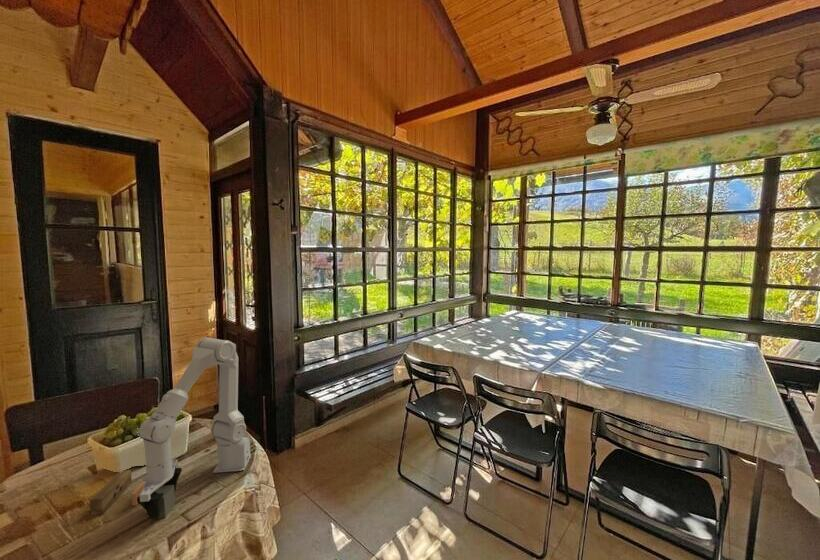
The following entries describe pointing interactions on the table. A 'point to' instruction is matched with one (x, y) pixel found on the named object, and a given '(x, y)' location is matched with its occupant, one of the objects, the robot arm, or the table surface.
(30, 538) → the table surface
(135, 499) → the orange flat block
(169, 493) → the plug
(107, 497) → the socket housing
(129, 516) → the table surface
